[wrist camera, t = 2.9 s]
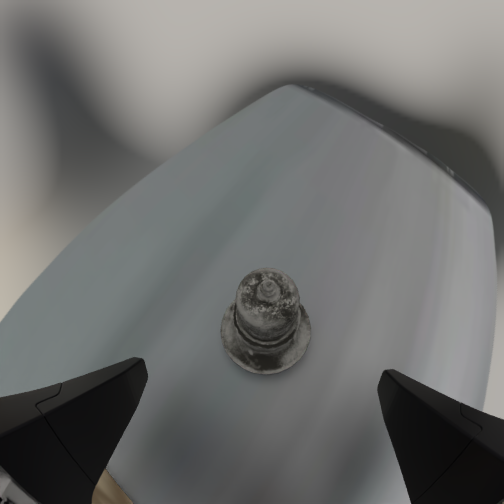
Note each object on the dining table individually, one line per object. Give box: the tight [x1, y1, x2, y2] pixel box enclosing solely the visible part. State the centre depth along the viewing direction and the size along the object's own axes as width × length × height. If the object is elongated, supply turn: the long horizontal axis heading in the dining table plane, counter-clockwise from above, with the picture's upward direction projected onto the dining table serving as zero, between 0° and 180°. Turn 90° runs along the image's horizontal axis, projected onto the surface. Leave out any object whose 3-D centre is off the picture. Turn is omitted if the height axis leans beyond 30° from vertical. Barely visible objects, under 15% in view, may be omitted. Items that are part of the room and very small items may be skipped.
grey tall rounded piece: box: [221, 268, 311, 374], centre depth 17 cm, size 6×6×12 cm
